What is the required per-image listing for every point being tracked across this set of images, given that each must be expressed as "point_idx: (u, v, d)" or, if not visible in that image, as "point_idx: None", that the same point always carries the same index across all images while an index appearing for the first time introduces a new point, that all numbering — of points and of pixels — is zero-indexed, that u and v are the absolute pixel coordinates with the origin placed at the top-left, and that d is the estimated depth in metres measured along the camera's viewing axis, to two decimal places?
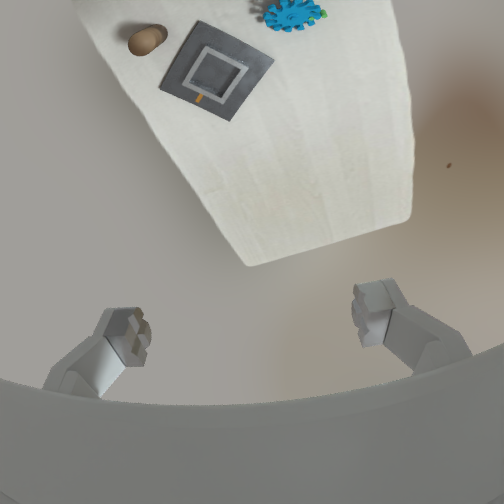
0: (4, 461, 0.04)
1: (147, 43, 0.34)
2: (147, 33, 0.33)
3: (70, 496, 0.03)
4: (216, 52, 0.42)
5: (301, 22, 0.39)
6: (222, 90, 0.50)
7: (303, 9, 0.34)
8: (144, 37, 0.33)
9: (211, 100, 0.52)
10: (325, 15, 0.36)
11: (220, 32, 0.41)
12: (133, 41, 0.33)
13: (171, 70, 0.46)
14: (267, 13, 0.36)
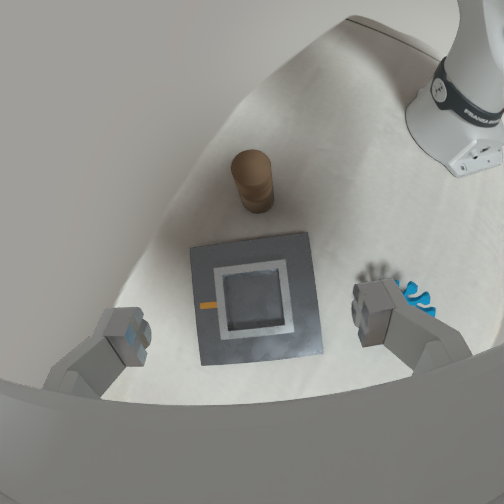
0: (4, 461, 0.04)
1: (256, 173, 0.31)
2: (269, 165, 0.31)
3: (70, 496, 0.04)
4: (285, 278, 0.36)
5: None
6: (237, 326, 0.37)
7: None
8: (262, 164, 0.31)
9: (214, 323, 0.38)
10: None
11: (310, 265, 0.38)
12: (249, 155, 0.32)
13: (223, 245, 0.39)
14: None
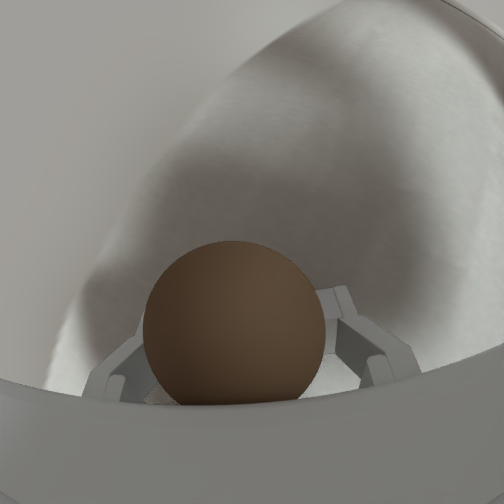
0: (4, 461, 0.04)
1: (253, 372, 0.06)
2: (318, 330, 0.06)
3: (70, 496, 0.03)
4: None
5: None
6: None
7: None
8: (283, 329, 0.07)
9: None
10: None
11: None
12: (221, 275, 0.07)
13: None
14: None
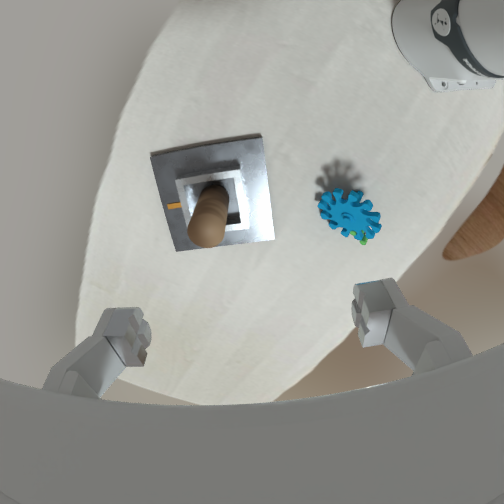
0: (4, 461, 0.04)
1: (211, 238, 0.34)
2: (223, 230, 0.34)
3: (70, 496, 0.04)
4: (240, 186, 0.39)
5: (341, 225, 0.43)
6: None
7: (364, 224, 0.40)
8: (216, 230, 0.34)
9: (181, 219, 0.44)
10: (364, 243, 0.44)
11: (264, 169, 0.40)
12: (202, 221, 0.33)
13: (181, 153, 0.39)
14: (342, 192, 0.38)
